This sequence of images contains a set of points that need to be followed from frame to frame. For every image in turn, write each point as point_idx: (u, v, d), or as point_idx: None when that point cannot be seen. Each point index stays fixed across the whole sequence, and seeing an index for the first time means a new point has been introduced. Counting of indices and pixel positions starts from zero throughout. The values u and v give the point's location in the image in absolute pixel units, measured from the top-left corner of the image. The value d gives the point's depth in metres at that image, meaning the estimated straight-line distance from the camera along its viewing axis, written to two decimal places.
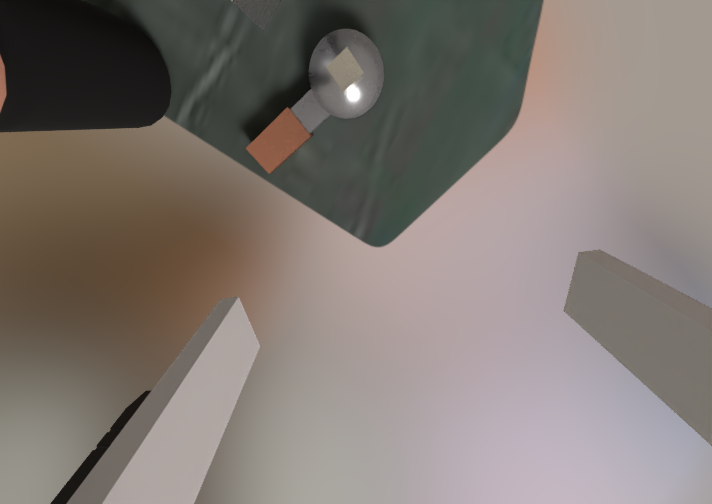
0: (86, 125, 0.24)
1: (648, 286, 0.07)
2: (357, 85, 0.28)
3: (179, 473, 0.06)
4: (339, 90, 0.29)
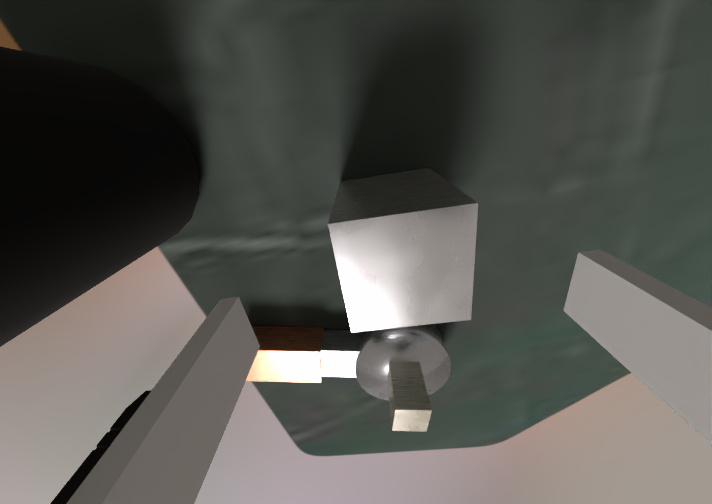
0: None
1: (648, 286, 0.07)
2: None
3: (179, 473, 0.06)
4: (385, 375, 0.22)
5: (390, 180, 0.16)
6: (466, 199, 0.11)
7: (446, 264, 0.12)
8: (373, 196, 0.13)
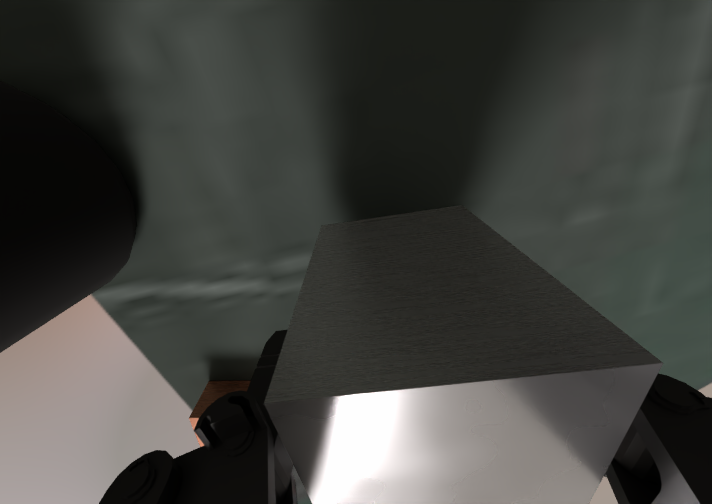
0: None
1: None
2: None
3: None
4: None
5: (403, 232, 0.09)
6: (610, 336, 0.04)
7: (546, 465, 0.05)
8: (376, 283, 0.07)
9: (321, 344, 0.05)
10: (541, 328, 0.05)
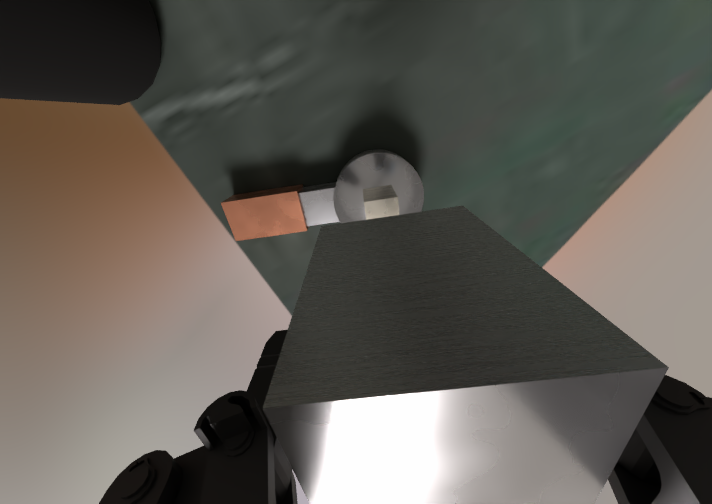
0: None
1: None
2: None
3: None
4: (363, 208, 0.24)
5: (403, 233, 0.09)
6: (615, 339, 0.04)
7: (549, 470, 0.05)
8: (376, 284, 0.07)
9: (321, 347, 0.05)
10: (544, 331, 0.05)
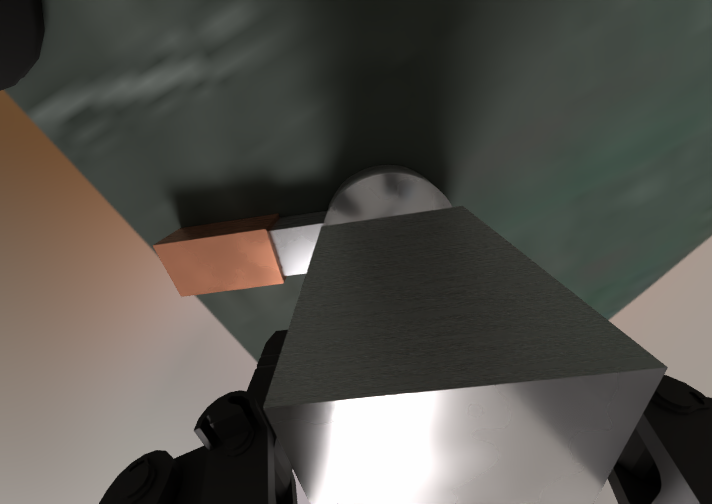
0: None
1: None
2: None
3: None
4: None
5: (403, 233, 0.09)
6: (614, 339, 0.04)
7: (548, 470, 0.05)
8: (376, 285, 0.07)
9: (321, 347, 0.05)
10: (543, 331, 0.05)
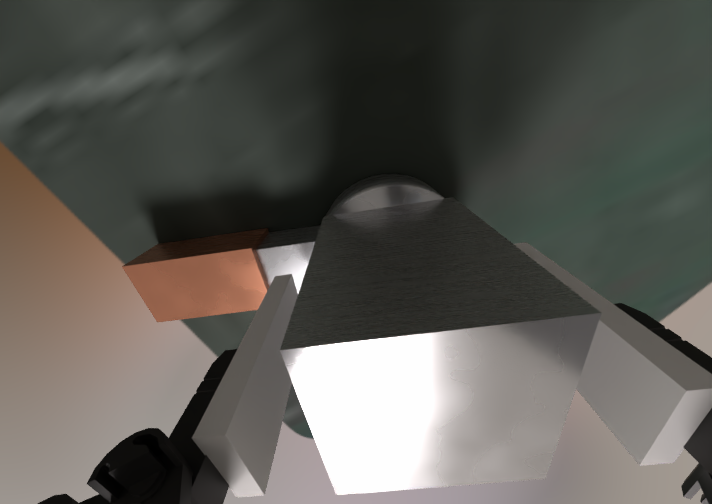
0: None
1: (551, 272, 0.09)
2: None
3: (267, 415, 0.07)
4: None
5: (398, 221, 0.10)
6: (565, 295, 0.05)
7: (515, 409, 0.06)
8: (373, 262, 0.08)
9: (326, 308, 0.06)
10: (509, 292, 0.06)
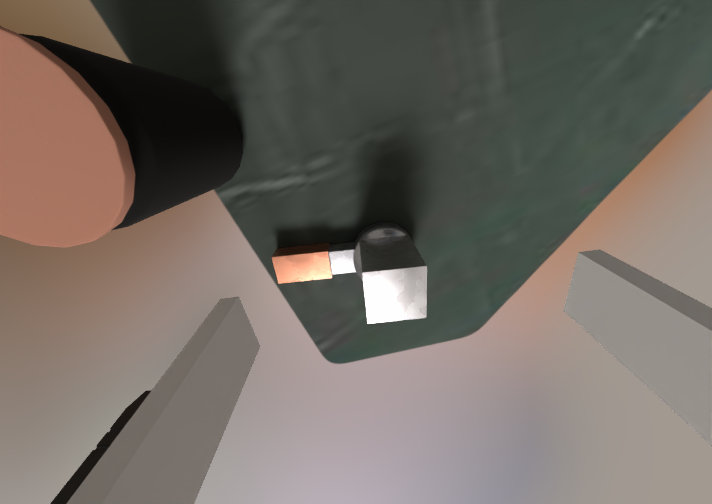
0: None
1: (648, 286, 0.07)
2: None
3: (179, 473, 0.06)
4: None
5: (387, 243, 0.30)
6: (422, 263, 0.25)
7: (414, 291, 0.25)
8: (380, 256, 0.27)
9: (370, 266, 0.25)
10: (412, 262, 0.25)
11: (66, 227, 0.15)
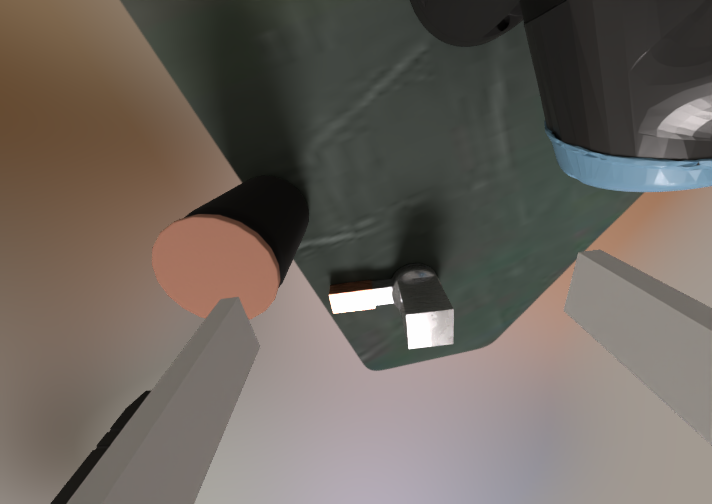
0: None
1: (648, 286, 0.07)
2: None
3: (179, 473, 0.06)
4: None
5: (420, 285, 0.39)
6: (450, 306, 0.34)
7: (444, 326, 0.34)
8: (417, 298, 0.36)
9: (410, 308, 0.34)
10: (442, 305, 0.34)
11: None
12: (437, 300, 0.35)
